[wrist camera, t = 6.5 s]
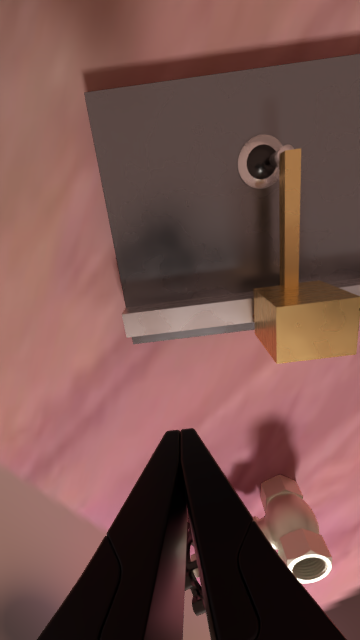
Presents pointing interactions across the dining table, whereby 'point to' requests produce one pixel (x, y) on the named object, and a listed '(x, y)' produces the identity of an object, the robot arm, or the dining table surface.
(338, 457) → the dining table surface
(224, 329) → the bolt plate dividers
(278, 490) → the valve
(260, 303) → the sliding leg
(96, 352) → the dining table surface
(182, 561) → the robot arm
